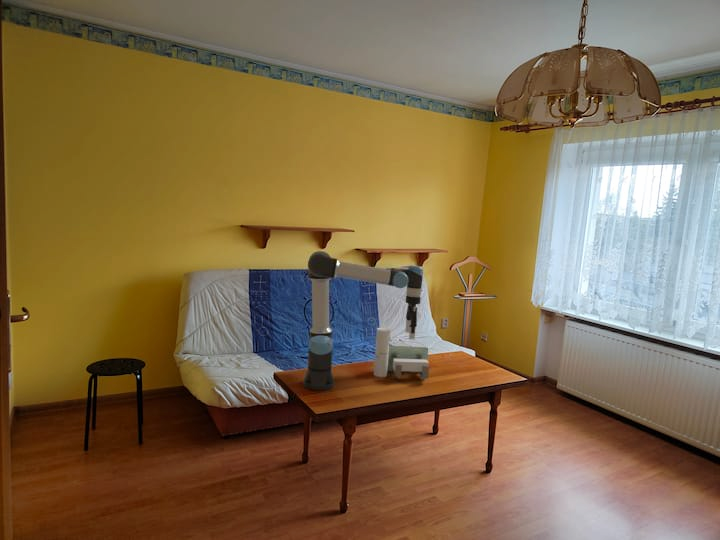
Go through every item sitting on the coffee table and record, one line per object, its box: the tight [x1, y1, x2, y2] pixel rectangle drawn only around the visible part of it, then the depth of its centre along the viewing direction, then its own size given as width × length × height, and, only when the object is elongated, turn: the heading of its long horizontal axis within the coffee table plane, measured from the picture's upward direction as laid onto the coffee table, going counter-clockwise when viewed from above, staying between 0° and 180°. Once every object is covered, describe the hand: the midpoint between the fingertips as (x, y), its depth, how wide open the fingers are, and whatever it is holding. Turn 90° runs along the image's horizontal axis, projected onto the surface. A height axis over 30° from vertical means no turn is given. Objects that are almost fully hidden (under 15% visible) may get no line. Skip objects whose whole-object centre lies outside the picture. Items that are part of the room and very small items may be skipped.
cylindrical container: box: [373, 327, 391, 378], centre depth 247 cm, size 7×7×25 cm
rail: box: [393, 358, 430, 373], centre depth 245 cm, size 18×5×5 cm, turn 95°
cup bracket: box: [387, 345, 430, 381], centre depth 247 cm, size 22×19×14 cm
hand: (409, 335), depth 242 cm, fingers open, 13 cm apart
